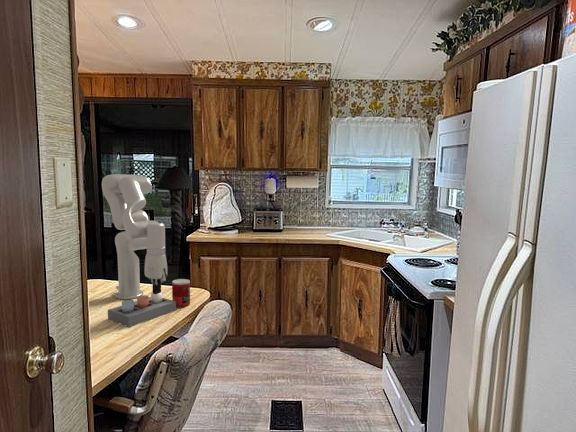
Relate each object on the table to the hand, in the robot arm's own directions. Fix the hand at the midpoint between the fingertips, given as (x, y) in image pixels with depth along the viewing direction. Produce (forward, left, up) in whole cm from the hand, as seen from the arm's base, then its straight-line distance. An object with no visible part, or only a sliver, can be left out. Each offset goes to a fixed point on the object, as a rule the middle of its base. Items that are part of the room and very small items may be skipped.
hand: (156, 293), depth 166 cm
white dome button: (0, 0, -4) cm, 5 cm away
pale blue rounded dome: (0, -14, -5) cm, 15 cm away
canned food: (+3, +11, -8) cm, 14 cm away
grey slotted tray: (0, -7, -8) cm, 10 cm away
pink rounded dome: (0, -7, -5) cm, 8 cm away
